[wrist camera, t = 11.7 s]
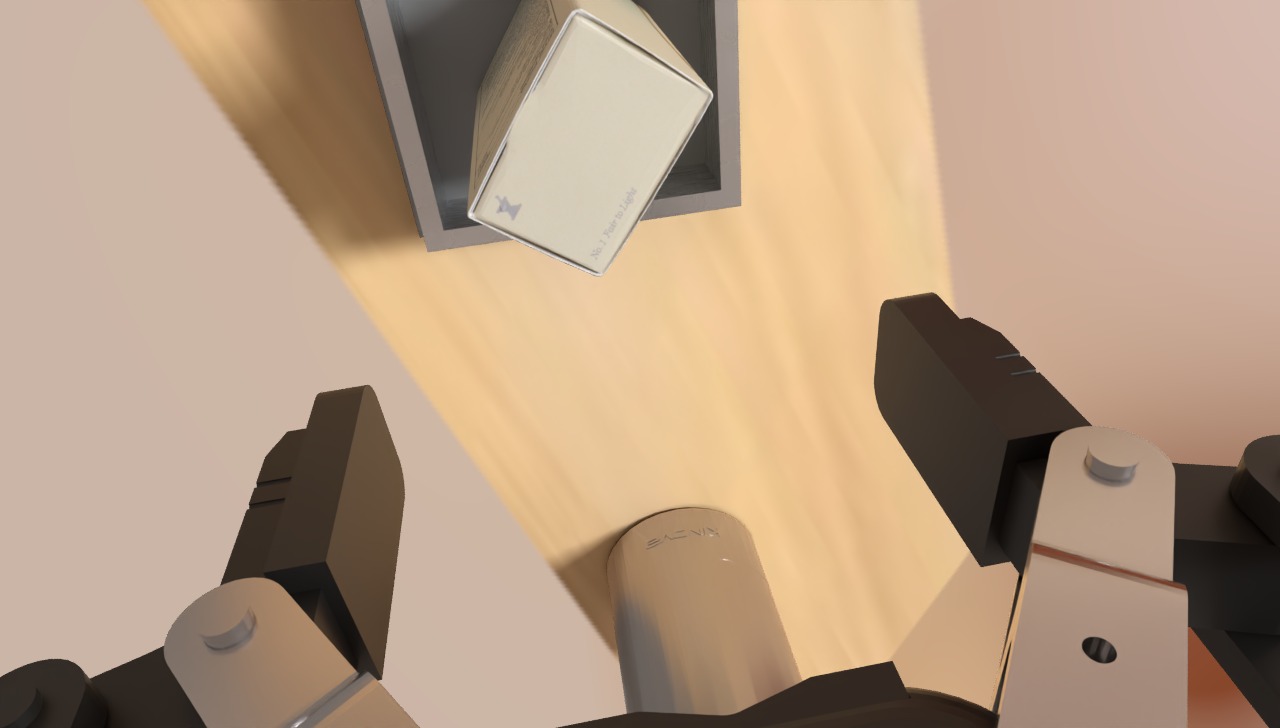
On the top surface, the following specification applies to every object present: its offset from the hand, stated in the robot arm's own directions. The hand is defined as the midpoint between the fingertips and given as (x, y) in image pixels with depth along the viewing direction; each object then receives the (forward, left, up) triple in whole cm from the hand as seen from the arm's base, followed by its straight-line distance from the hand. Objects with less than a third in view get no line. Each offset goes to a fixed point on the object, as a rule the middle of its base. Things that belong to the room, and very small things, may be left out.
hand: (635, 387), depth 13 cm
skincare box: (0, 0, -23) cm, 23 cm away
